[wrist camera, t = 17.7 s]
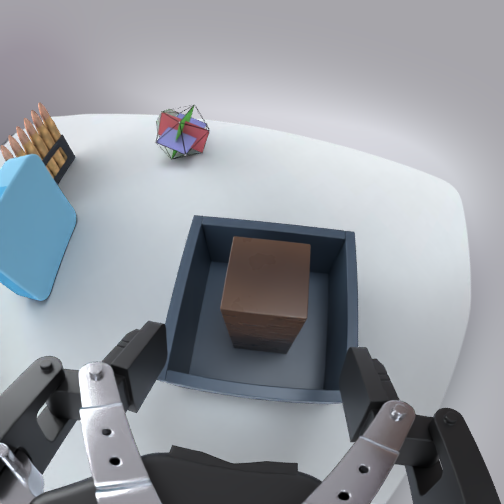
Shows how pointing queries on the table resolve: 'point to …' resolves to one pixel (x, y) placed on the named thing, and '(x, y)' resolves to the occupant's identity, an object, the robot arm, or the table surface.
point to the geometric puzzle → (181, 132)
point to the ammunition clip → (42, 144)
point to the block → (266, 293)
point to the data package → (32, 227)
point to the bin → (258, 362)
